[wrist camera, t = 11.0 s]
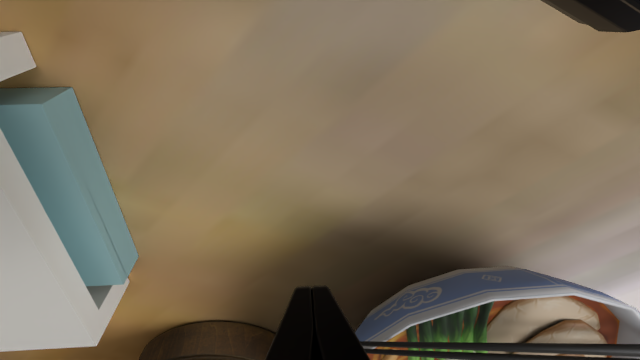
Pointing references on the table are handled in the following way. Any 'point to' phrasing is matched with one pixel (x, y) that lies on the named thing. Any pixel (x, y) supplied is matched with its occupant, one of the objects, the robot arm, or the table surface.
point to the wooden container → (210, 342)
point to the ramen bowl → (500, 320)
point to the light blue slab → (69, 180)
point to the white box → (40, 256)
